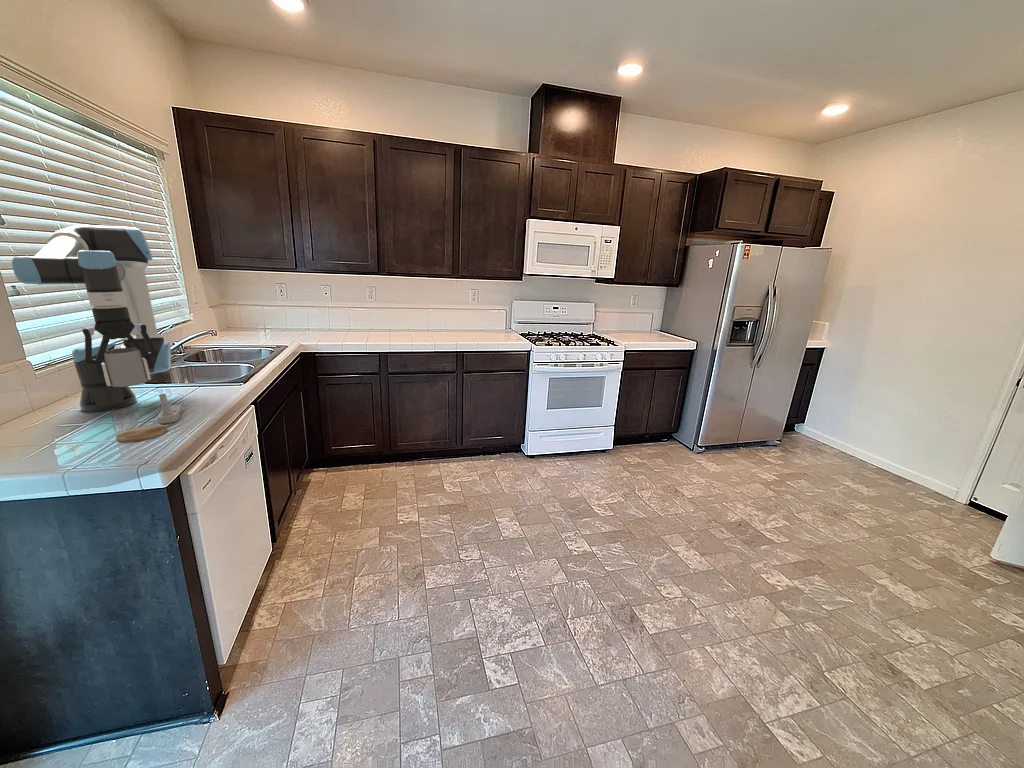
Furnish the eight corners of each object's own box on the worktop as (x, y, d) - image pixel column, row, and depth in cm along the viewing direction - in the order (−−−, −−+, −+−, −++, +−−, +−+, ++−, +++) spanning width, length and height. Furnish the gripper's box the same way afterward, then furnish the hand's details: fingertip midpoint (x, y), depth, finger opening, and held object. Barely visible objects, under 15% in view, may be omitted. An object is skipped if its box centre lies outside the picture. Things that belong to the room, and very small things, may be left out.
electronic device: (177, 385, 148) (171, 395, 136) (183, 410, 151) (177, 422, 139) (158, 387, 146) (150, 397, 133) (165, 413, 148) (157, 425, 136)
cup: (150, 377, 130) (143, 347, 127) (143, 384, 123) (135, 352, 120) (115, 380, 126) (107, 349, 123) (106, 388, 119) (96, 354, 116)
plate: (114, 434, 129) (113, 431, 128) (163, 423, 137) (162, 421, 137) (119, 445, 121) (119, 442, 121) (171, 434, 130) (170, 431, 129)
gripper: (56, 310, 108) (80, 392, 114) (159, 305, 123) (175, 377, 129) (55, 308, 112) (78, 386, 119) (154, 303, 128) (170, 373, 134)
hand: (129, 381), depth 124 cm, fingers closed on cup, 8 cm apart
